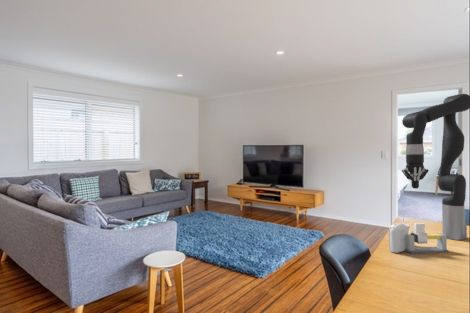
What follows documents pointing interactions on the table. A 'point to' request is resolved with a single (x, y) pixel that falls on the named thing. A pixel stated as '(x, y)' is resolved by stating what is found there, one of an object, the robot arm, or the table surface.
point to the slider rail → (419, 250)
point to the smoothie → (406, 225)
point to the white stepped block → (420, 233)
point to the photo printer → (397, 237)
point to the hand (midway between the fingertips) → (415, 188)
